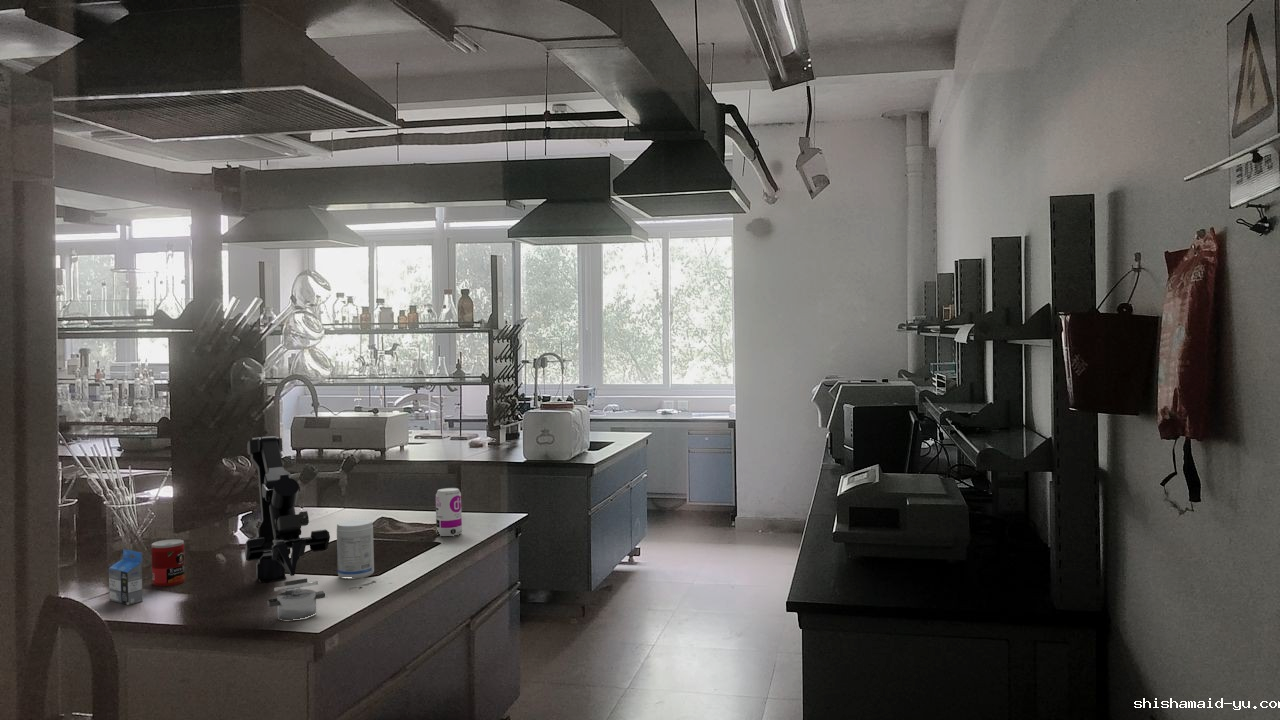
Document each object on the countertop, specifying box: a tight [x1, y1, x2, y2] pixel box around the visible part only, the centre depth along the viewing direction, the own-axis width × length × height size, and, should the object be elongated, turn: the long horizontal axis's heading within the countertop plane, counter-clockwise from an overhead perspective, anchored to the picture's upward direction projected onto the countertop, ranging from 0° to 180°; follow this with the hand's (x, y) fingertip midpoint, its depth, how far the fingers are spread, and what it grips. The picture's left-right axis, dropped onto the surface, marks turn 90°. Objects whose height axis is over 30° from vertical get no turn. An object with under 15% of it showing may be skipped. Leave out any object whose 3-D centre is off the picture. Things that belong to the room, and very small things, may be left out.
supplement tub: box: [336, 518, 375, 580], centre depth 233 cm, size 10×10×15 cm
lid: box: [273, 577, 319, 592], centre depth 198 cm, size 10×9×2 cm
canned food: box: [150, 538, 186, 587], centre depth 229 cm, size 8×8×11 cm
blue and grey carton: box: [108, 548, 143, 606], centre depth 213 cm, size 9×4×12 cm, turn 59°
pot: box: [267, 587, 326, 620], centre depth 198 cm, size 12×10×5 cm
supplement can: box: [435, 487, 463, 537], centre depth 281 cm, size 8×8×15 cm
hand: (292, 574), depth 201 cm, fingers closed
